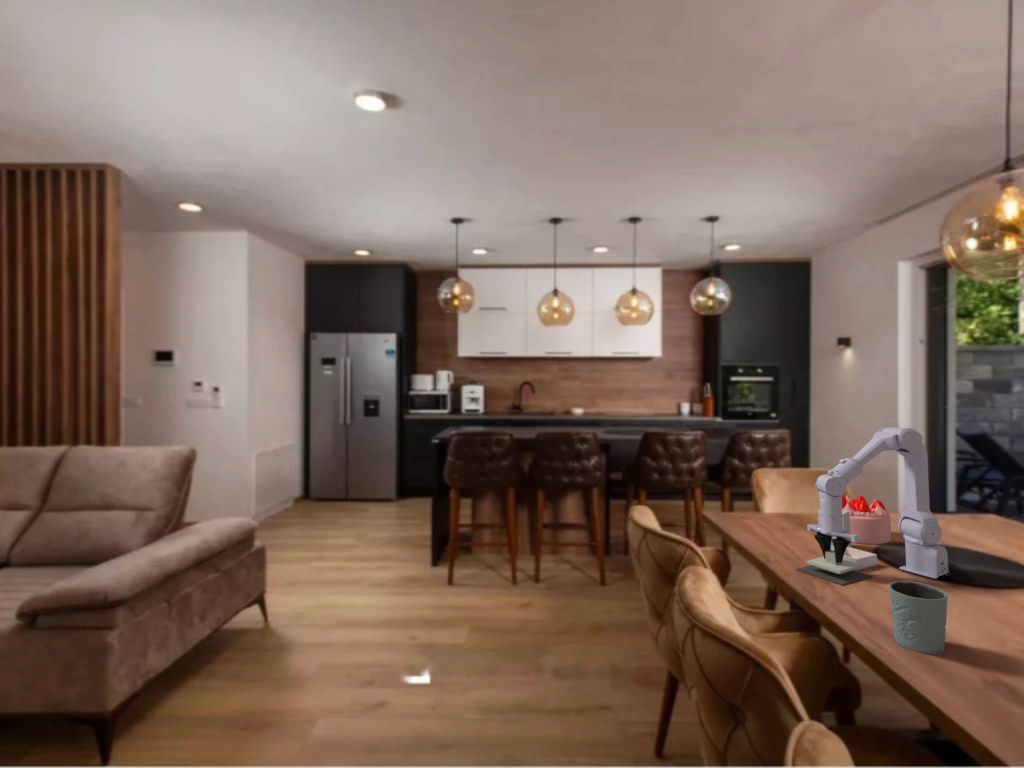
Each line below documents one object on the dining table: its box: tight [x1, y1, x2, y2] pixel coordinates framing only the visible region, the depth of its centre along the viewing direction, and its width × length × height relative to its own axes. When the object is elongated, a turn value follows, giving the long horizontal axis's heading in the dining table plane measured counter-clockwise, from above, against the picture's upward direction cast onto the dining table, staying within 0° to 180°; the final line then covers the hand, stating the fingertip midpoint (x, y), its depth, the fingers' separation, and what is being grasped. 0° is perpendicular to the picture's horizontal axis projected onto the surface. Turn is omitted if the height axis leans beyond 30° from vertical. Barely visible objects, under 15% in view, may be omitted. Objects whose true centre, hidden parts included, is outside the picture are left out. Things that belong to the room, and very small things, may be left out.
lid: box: [806, 550, 861, 574], centre depth 151 cm, size 10×10×5 cm
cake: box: [842, 494, 892, 545], centre depth 186 cm, size 20×20×14 cm
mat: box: [795, 564, 873, 586], centre depth 151 cm, size 14×14×1 cm
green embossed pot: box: [888, 580, 949, 655], centre depth 109 cm, size 10×10×12 cm
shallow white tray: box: [831, 546, 878, 572], centre depth 159 cm, size 10×10×4 cm
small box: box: [817, 509, 852, 549], centre depth 175 cm, size 8×6×13 cm
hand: (833, 560), depth 151 cm, fingers closed on lid, 3 cm apart
